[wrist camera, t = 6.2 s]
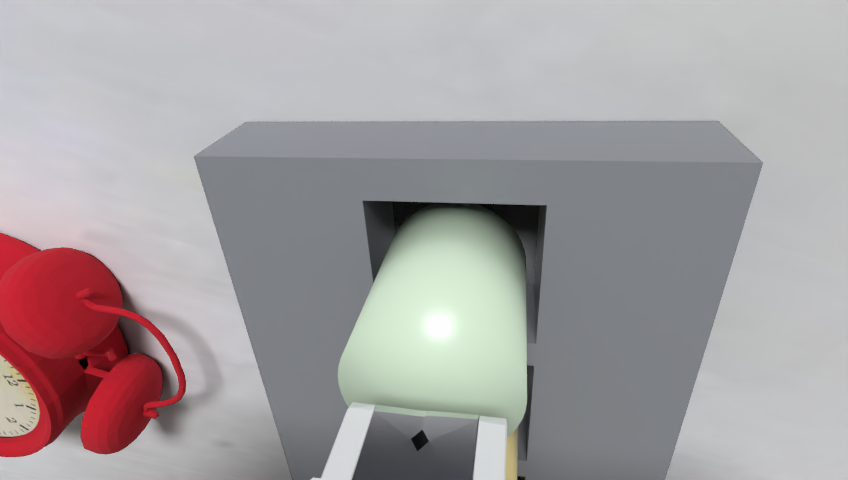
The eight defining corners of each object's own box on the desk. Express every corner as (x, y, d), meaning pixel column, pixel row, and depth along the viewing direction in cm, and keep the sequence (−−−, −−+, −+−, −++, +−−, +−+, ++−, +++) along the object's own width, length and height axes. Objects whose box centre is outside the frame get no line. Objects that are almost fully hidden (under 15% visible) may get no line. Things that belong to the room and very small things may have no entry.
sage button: (396, 311, 16) (350, 444, 12) (384, 199, 14) (324, 311, 10) (522, 319, 15) (522, 464, 11) (529, 202, 13) (532, 325, 9)
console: (330, 471, 25) (308, 530, 23) (245, 122, 16) (193, 156, 14) (621, 507, 23) (634, 579, 20) (718, 121, 14) (763, 162, 11)
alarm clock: (-259, 269, 19) (-37, 344, 13) (-69, 198, 24) (154, 230, 18) (-90, 447, 24) (122, 557, 18) (37, 359, 29) (237, 424, 23)
